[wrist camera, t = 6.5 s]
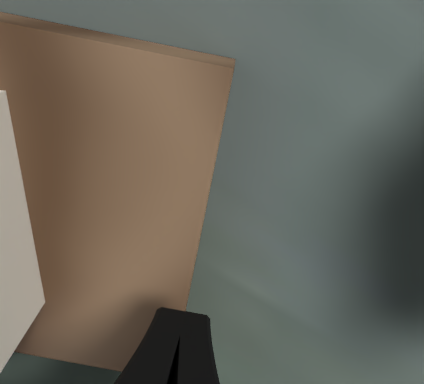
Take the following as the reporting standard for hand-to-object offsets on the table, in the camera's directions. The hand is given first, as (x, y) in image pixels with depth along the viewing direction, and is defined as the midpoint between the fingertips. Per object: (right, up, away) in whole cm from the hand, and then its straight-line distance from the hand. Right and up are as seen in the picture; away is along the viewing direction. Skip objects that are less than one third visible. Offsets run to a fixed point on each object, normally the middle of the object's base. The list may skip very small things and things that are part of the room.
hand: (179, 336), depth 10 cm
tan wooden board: (-5, +3, +4) cm, 7 cm away
